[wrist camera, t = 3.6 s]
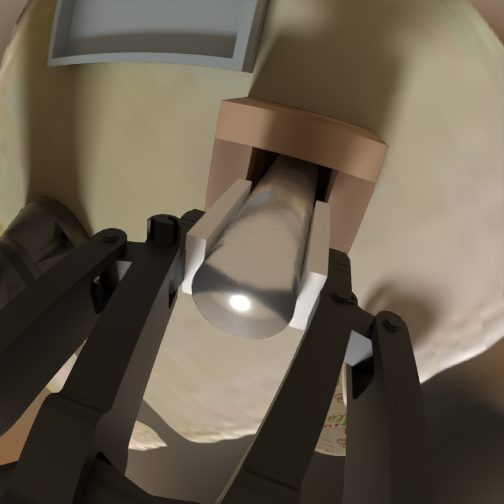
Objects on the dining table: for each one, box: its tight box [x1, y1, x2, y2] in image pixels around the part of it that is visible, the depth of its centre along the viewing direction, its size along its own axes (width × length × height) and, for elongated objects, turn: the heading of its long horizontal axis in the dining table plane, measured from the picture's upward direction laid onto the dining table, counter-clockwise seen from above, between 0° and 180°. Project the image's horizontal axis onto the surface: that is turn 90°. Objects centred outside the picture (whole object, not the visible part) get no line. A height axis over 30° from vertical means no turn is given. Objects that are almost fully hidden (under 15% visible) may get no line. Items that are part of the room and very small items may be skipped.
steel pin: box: [191, 154, 318, 339], centre depth 17 cm, size 4×4×16 cm
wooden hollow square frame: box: [204, 97, 388, 256], centre depth 21 cm, size 10×10×6 cm
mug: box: [315, 362, 347, 456], centre depth 28 cm, size 8×13×10 cm, turn 18°
